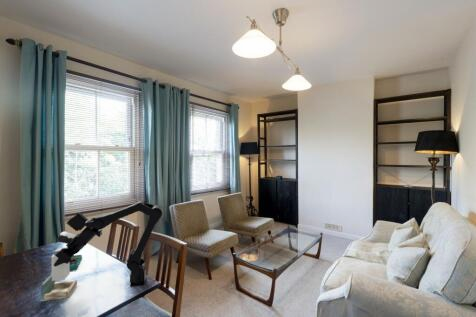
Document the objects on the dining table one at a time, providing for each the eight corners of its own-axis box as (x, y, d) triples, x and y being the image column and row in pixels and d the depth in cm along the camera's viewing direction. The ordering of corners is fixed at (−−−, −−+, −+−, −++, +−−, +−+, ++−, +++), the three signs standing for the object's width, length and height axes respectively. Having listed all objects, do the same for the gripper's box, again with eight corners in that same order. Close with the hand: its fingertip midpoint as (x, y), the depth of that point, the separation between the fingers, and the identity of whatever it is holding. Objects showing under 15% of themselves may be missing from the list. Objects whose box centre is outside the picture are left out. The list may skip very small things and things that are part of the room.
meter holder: (76, 284, 113) (76, 270, 112) (68, 297, 103) (68, 281, 103) (52, 288, 110) (52, 273, 110) (41, 301, 100) (41, 284, 100)
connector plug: (69, 273, 110) (69, 246, 110) (64, 279, 105) (64, 251, 105) (57, 275, 109) (56, 247, 108) (51, 280, 104) (51, 252, 104)
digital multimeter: (60, 272, 124) (60, 267, 124) (67, 260, 138) (67, 255, 137) (77, 270, 127) (77, 265, 127) (82, 258, 141) (82, 253, 141)
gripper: (78, 220, 116) (52, 243, 114) (61, 233, 98) (30, 261, 96) (96, 234, 119) (71, 258, 116) (82, 249, 101) (52, 277, 98)
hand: (57, 263), depth 107 cm, fingers closed on connector plug, 5 cm apart
